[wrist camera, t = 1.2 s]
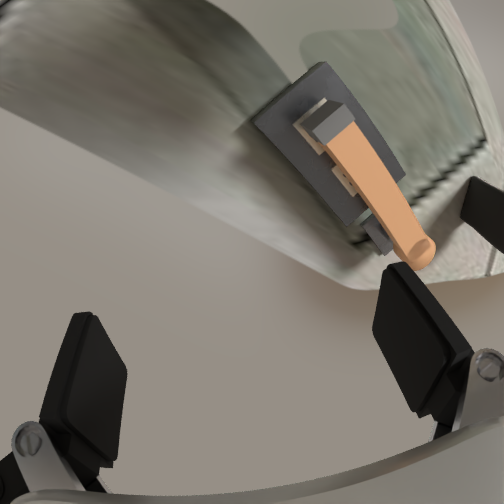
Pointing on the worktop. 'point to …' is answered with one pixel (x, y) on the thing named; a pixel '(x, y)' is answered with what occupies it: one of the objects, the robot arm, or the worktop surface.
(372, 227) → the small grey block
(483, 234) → the battery charger
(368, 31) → the worktop surface
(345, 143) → the swing bar
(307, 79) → the label panel
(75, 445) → the robot arm
